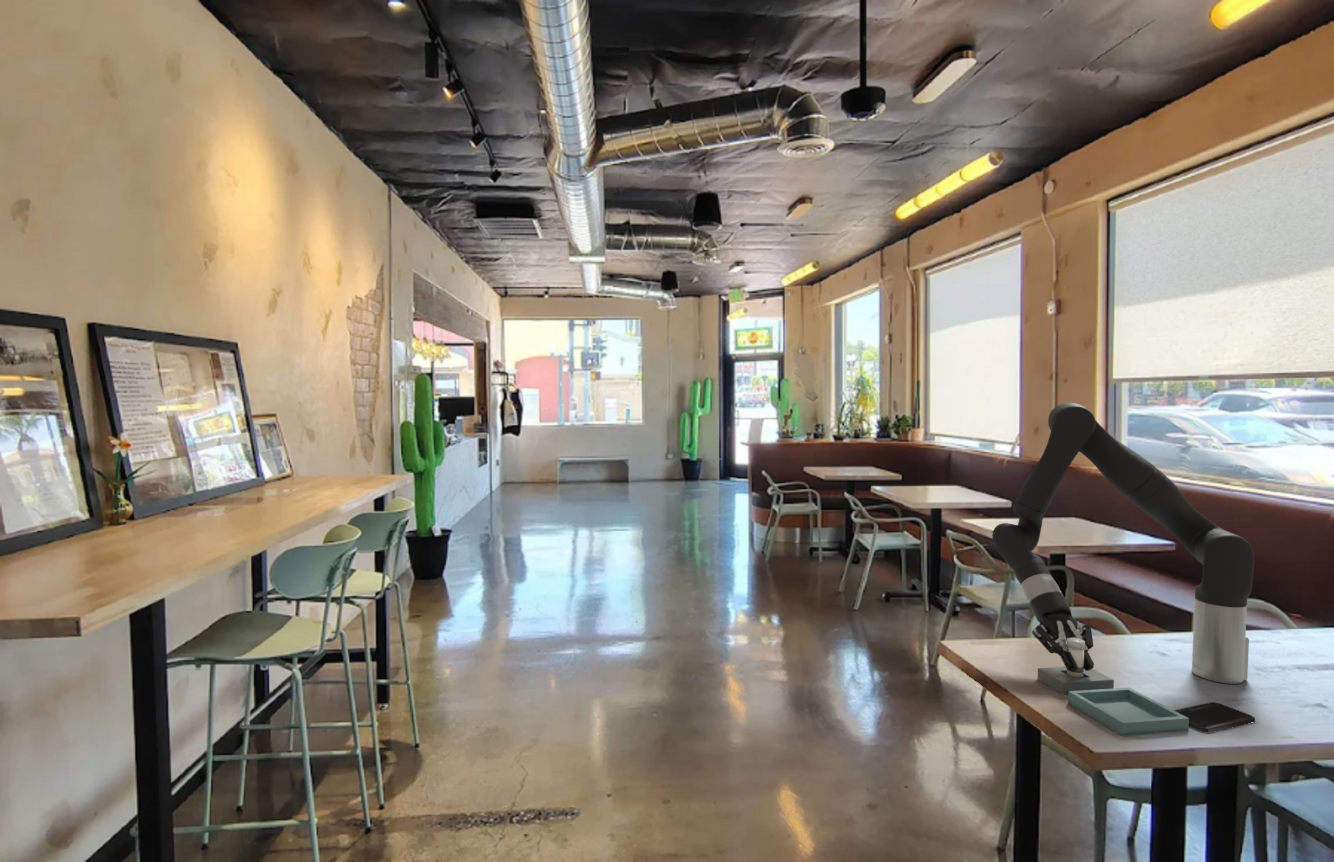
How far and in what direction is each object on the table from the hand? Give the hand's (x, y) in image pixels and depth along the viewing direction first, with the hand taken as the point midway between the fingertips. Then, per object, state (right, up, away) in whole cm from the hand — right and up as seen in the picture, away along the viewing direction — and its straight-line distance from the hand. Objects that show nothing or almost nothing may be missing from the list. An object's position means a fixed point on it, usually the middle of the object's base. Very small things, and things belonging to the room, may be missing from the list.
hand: (1082, 669), depth 148 cm
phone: (+17, -6, -13) cm, 22 cm away
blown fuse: (0, -4, +2) cm, 5 cm away
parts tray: (+1, -5, -13) cm, 14 cm away
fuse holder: (0, -4, +2) cm, 5 cm away
